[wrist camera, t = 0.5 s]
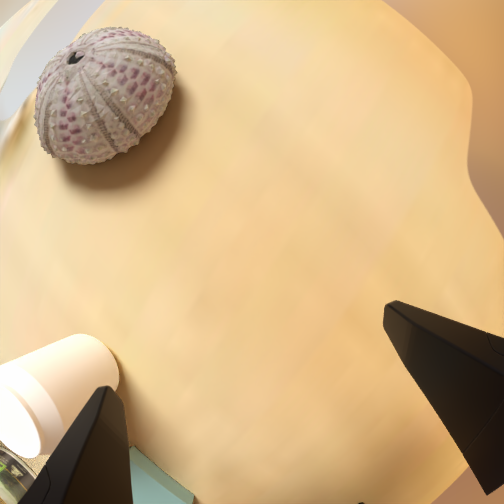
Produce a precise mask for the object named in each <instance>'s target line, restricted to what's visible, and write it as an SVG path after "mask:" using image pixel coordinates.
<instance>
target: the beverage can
mask: <svg viewBox="0 0 504 504" xmlns="http://www.w3.org/2000/svg"><path fill="white" fill-rule="evenodd" d="M118 383H119V370H118V366H117V363H116V361H115V359H114V357H113V355H112V353H111V352H110V351H109V349H108V348H107V347H106V346H105V345H104V344H103V343H102V342H101V341H99V340H98V339H96V338H94V337H92V336H90V335H86V334H75V335H72V336H69V337H66V338H64V339H62V340H59V341H57V342H54V343H52V344H50V345H47V346H45V347H43V348H40V349H38V350H36V351H33V352H31V353H29V354H26V355H24V356H22V357H19V358H17V359H15V360H12V361H10V362H8V363H5V364H3V365H1V366H0V440H1V441H2V442H3V443H4V444H5V445H6V446H7V447H8V448H9V449H10V450H12V451H13V452H14V453H16V454H18V455H19V456H22V457H24V458H29V459H33V458H36V457H37V456H38V455H49V454H52V453H53V451H54V450H55V448H56V447H57V445H58V444H59V442H60V441H61V439H62V438H63V436H64V435H65V433H66V432H67V430H68V429H69V427H70V426H71V424H72V423H73V421H74V420H75V418H76V417H77V416H78V414H79V413H80V411H81V410H82V408H83V407H84V405H85V404H86V403H87V401H88V400H89V398H90V397H91V395H92V394H93V393H94V391H95V390H96V389H97V388H98V387H100V386H106V385H109V386H110V387H112V389H113V390H114V391H116V389H117V387H118Z"/></svg>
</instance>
